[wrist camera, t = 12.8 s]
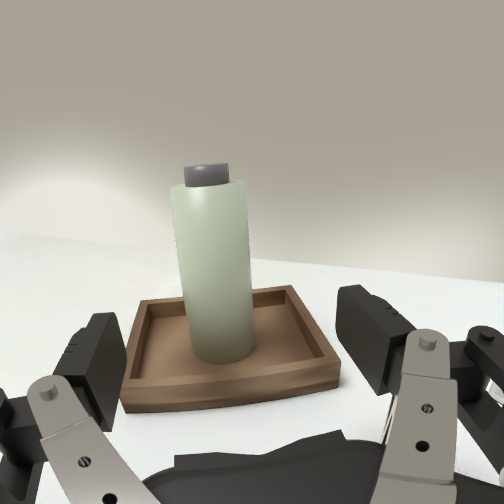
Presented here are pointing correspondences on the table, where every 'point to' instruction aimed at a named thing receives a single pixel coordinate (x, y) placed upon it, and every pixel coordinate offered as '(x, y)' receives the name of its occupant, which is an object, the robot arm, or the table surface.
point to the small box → (496, 393)
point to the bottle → (214, 262)
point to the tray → (226, 375)
